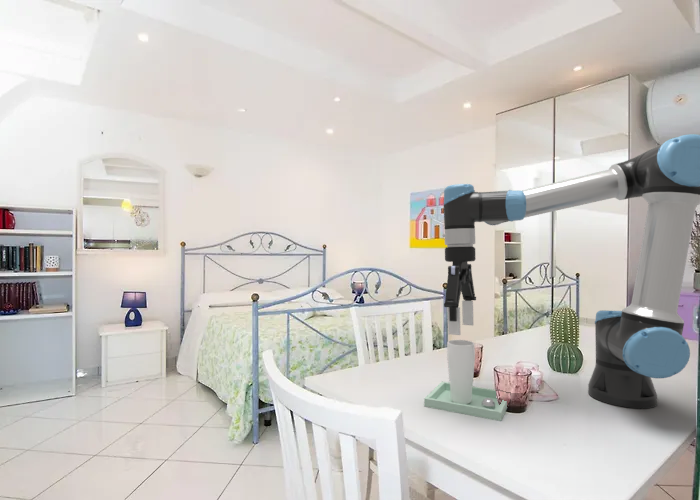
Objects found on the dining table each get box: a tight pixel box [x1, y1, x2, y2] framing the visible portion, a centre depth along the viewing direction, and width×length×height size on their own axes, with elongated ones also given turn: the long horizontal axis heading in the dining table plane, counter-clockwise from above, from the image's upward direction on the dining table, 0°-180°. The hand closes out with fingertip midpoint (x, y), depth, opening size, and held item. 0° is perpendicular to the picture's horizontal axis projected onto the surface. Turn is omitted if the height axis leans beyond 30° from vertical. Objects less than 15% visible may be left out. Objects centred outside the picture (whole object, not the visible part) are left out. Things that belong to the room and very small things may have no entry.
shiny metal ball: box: [481, 398, 495, 410], centre depth 97 cm, size 3×3×3 cm
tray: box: [423, 380, 508, 422], centre depth 103 cm, size 18×15×2 cm
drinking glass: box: [446, 339, 476, 404], centre depth 104 cm, size 7×7×15 cm
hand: (461, 329), depth 104 cm, fingers open, 13 cm apart
